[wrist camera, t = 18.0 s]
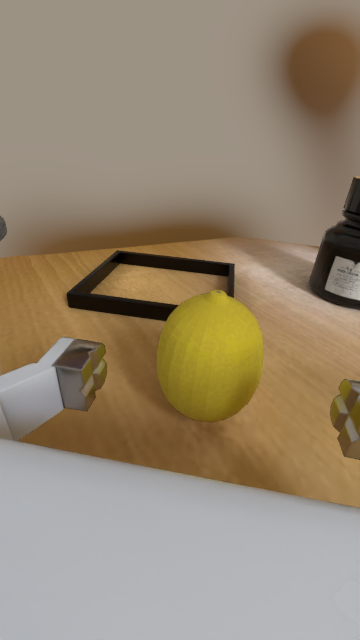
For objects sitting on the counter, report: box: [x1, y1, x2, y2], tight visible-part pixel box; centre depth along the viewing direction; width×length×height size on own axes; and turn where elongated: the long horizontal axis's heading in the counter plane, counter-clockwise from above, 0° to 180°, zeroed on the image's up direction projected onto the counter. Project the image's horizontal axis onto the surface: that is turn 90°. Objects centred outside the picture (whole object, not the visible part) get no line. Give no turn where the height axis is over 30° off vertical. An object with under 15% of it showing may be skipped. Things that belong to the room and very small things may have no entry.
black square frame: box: [67, 250, 235, 321], centre depth 32 cm, size 15×13×2 cm
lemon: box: [157, 290, 264, 422], centre depth 15 cm, size 6×6×8 cm
